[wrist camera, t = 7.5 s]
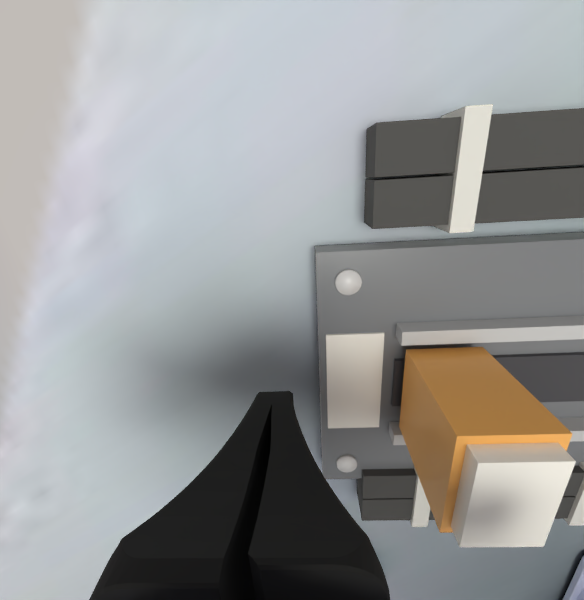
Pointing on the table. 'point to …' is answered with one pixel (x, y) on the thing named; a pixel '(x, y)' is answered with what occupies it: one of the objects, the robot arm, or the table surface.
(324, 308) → the breaker panel
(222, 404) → the table surface
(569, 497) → the cord bundle
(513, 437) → the breaker knob
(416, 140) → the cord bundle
